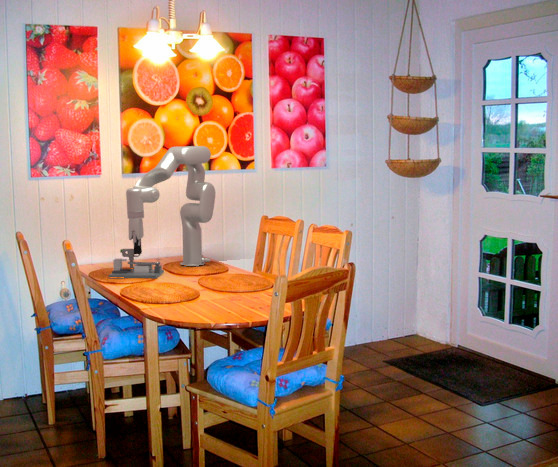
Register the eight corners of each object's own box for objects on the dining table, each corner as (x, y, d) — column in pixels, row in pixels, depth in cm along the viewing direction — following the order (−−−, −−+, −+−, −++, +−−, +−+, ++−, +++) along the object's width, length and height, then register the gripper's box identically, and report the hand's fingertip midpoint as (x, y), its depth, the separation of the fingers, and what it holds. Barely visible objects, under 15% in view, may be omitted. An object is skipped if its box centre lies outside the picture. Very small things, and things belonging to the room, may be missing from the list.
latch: (127, 270, 325) (127, 258, 324) (125, 272, 321) (124, 259, 320) (116, 270, 325) (115, 258, 324) (113, 272, 321) (113, 259, 320)
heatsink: (152, 271, 326) (152, 263, 325) (148, 273, 319) (148, 266, 318) (137, 270, 326) (137, 263, 325) (133, 273, 319) (133, 266, 318)
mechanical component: (141, 269, 338) (140, 249, 337) (120, 269, 338) (119, 249, 337) (142, 268, 341) (142, 248, 340) (122, 268, 341) (121, 248, 340)
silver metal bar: (160, 264, 323) (160, 261, 323) (158, 266, 320) (158, 262, 320) (129, 263, 324) (129, 260, 323) (127, 265, 321) (127, 261, 320)
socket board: (164, 272, 330) (164, 263, 329) (156, 278, 314) (156, 268, 314) (118, 272, 331) (118, 262, 330) (108, 278, 315) (108, 268, 315)
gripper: (131, 213, 327) (134, 251, 330) (123, 217, 312) (125, 257, 315) (147, 212, 326) (149, 250, 329) (139, 216, 312) (142, 256, 314)
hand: (137, 253), depth 322 cm, fingers closed
